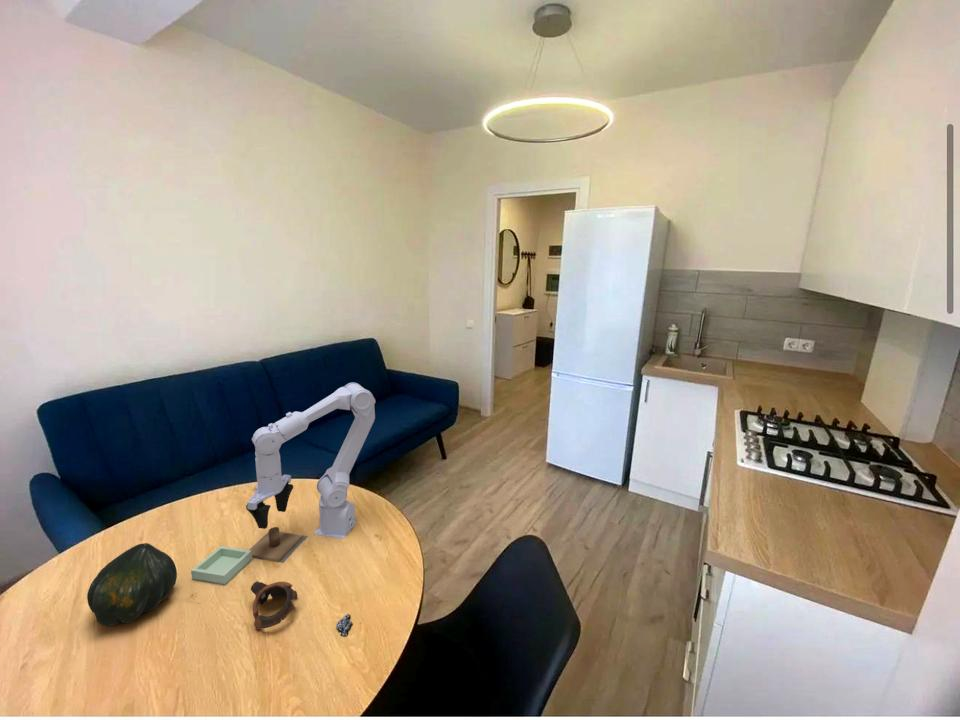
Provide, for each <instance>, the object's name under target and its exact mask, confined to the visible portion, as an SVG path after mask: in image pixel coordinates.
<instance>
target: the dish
mask: <svg viewBox="0 0 960 720" xmlns="http://www.w3.org/2000/svg"><path fill="white" fill-rule="evenodd" d="M252 560H253V558H252V551H250V550H249V549H244V548H236V547H229V546H223V545H220V546H219V547H218V548H216V549H215V550H214V551H213V552H212V553H210V554H209V555H208V556H207V557H206V558H204V559H203V560H202V561H200V562H199V563H198V564H197V565H195V567H193V568H192V569H191V570H190V572H191V581H196V582H201V583H208V584H214V585H220V586H226V585H228V584H229V582H231V581H232V580H233V579H234V578H235V577H236V576H237V575H238V574H239V573H240V572H241V571H242V570H243V569H244V568H246V566H247V565H248V564H249V563H251V562H252Z"/></svg>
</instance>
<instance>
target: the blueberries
mask: <svg viewBox="0 0 960 720" xmlns="http://www.w3.org/2000/svg"><path fill="white" fill-rule="evenodd" d="M351 619H352V617H351V615H350V614H348V613H347V614H346V615H344V617H342V618H341V619H340V620H338V621H337V623H336V624H335V625H336V627H335V630H336V631H337V633H338V634H340V637H342V638H346V637H348V636H349V632H350V631H351V629H352V627H353V625H354V624H353V622H352V620H351Z"/></svg>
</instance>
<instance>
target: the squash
mask: <svg viewBox="0 0 960 720" xmlns="http://www.w3.org/2000/svg"><path fill="white" fill-rule="evenodd" d="M177 572H178V570H177V567H176V563H175V562H174V560H173V559H172V557H171V556H170V555H169V554H167V553H166V552H164V551H162V550H160V549H159V548H157V547H155V546H154V545H152V544H151V543H147V542H144V543H140V544H136V545H133V546H132V547H130V548H128V549H127V550H125V551H124V552H122V553H121V554H119V555H118V556H116V557H115V558H114V559H113V560H111V561H110V562H108V563H107V564H106V565H105V566H103V568H101V569H100V570H99V572H98V573H97V575H96V577H94V579H93V580H92V582H91V583H90V586H89V588H88V591H87V595H86V601H87V605H88V606H89V609H90V611H91V612H92V613H94V617H95V620H96V621H97V623H98V624H100V625H101V626H103V627H113V626H115V625H118V624H119V623H121V622H122V623H126V624H128V623H131V622H133V621H136V620H137V619H138V618H139V617H140V616H141V615H142V614H143V613H146V612H147V613H149V612H150V611H153V610H154V609H155V608H157V607H158V605H159V604H160V602H162V601H163V600H165V599H166V597H168V596H169V594H170V592H171V591H172V590H173V588H174V587H175V585H176V582H177V579H178V573H177Z"/></svg>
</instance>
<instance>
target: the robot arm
mask: <svg viewBox="0 0 960 720" xmlns="http://www.w3.org/2000/svg"><path fill="white" fill-rule="evenodd" d="M375 404H376V398H375V397H374V395H373V393H372V392H371V391H370V390H368V389H366V388H364V387H363V386H361V384H359V383H357V382H349V383H347V384H345V385H344V386H341V387H339V388H337V389H336V390H335V391H334V392H333V393H331V394H330V395H328V396H326V397H325V398H323V399H321V400H320V401H318V402H317V403H315V404H313V405H312V406H310V407H309V408H307V409H306V410H304V411H293V412H291V411H288V412H287V413H285V416H284V417H282V418H281V419H279V420H277V421H275V422H274V423H273V422H271V423H268V425H267V426H262V427H260V428H258V429H257V430H256V431H255V432H254V433H253V436H252V437H251V441H252V444H253V445H254V450H255V452H254V455H255V458H254V459H255V471H256V473H255V474H256V486H255V487H254V491H255V492H254V494H253V495H252V496H251V498H250V499H249V500H248V501H247V502H246V506H245V508H246V511H247V512H248V513H249V514H250V515H251V516H252V517H253V518H254V521H255V523H256V525H257V528H258V529H263V530H265V529H267V528H268V523H269V521H268V520H269V511H270V508H271V504H266V503H264V501H266V500H267V499H270V498H272V497H274V499H275V505H276V509H277V512H282V513H285V512H286V511H287V507H288V502H289V498H290V495H291V493H292V491H293V489H294V485H293V484H291V482H292V476H291V475H290V474H283V475H282V463H281V454H280V449H281V446H282V444H284V443H286V442H287V441H289V440H291V439H292V438H294V437H296V436H298V435H299V434H302V433H303V432H304V431H306V430H307V429H308V427H309V425H310V423H312V422H313V421H315V420H317V419H318V420H319V418H322V417H323V416H325V415H327V414H329V413H331V412H333V411H335V410H338V409H339V410H346V411H351V412H352V413H353V416H354V420H353V421H352V424H351V426H350V428H349V429H348V432H347V435H346V437H345V439H344V440H343V443H342V445H341V447H340V449H339V451H338V453H337V455H336V458H335V459H334V461H333V464H332V466H330V467H329V468H327V469H326V471H325V473H324V474H323V475H322V476H321V477H320V478H319V479H318V480H317V483H316V490H317V492H318V493H319V494H320V497H319V501H318V509H319V510H318V511H319V527H318V528H317V529H316V530H315V531H314V533H313V535H315V536H322V537H327V538H328V537H330V538H335V539H342V540H344V539H346V537H347V536H348V535H349V533H350V532H351V531H352V530H353V528H354V527H355V525H356V524H357V521H356V507H355V504H354V503H353V502H351V501H349V500H347V497H348V489H349V486H350V473H351V471H352V469H353V467H354V465H355V463H356V461H357V458H358V457H359V454H360V452H361V450H362V448H363V446H364V443H365V442H366V439H367V437H368V435H369V432H370V431H371V429H372V426H373V424H374V422H375V419H376V412H375Z"/></svg>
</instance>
